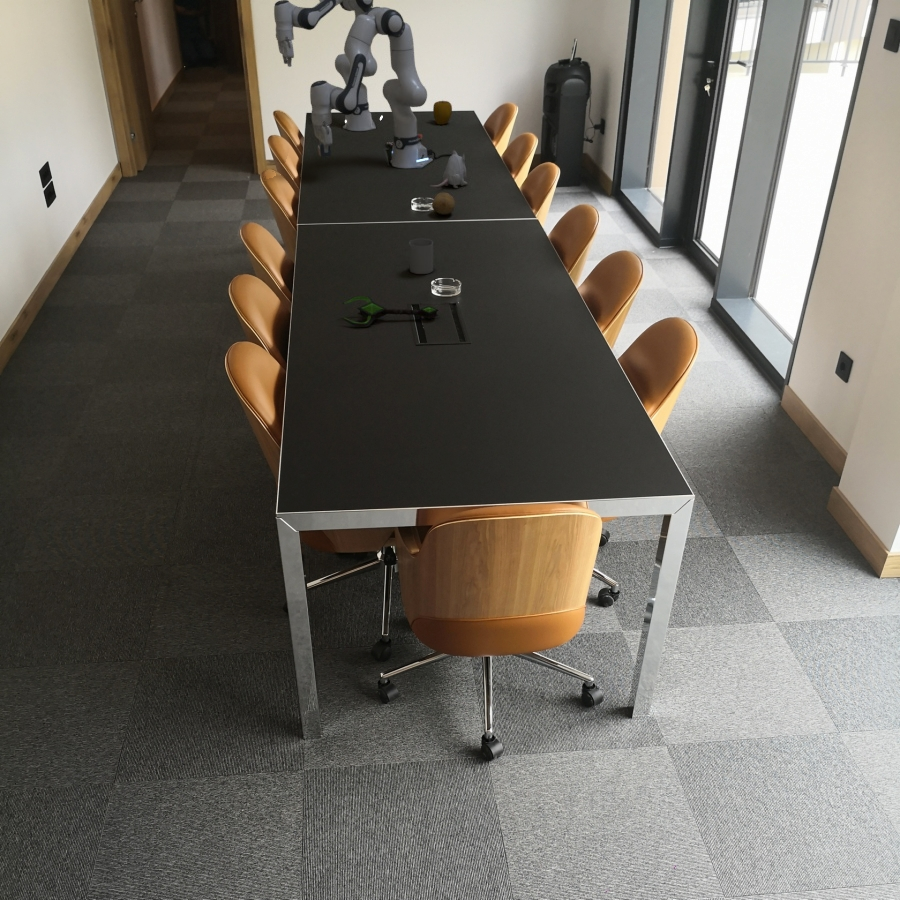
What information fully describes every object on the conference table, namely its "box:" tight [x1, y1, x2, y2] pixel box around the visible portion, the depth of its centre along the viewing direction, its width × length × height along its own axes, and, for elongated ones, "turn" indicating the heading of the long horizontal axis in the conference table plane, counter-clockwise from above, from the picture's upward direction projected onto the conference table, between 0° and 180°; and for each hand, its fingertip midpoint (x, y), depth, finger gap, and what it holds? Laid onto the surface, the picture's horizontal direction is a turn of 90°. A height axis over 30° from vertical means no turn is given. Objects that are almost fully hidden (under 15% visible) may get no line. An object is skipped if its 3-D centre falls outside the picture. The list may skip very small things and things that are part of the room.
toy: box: [428, 149, 468, 189], centre depth 390 cm, size 9×24×15 cm, turn 137°
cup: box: [408, 237, 434, 275], centre depth 305 cm, size 8×8×10 cm
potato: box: [431, 192, 456, 216], centre depth 360 cm, size 10×14×8 cm
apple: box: [432, 100, 453, 126], centre depth 501 cm, size 11×11×13 cm
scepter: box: [341, 295, 439, 328], centre depth 271 cm, size 6×13×30 cm
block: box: [317, 143, 332, 158], centre depth 401 cm, size 5×4×5 cm
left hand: (287, 65), depth 453 cm, fingers open, 8 cm apart
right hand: (324, 150), depth 402 cm, fingers closed on block, 4 cm apart
